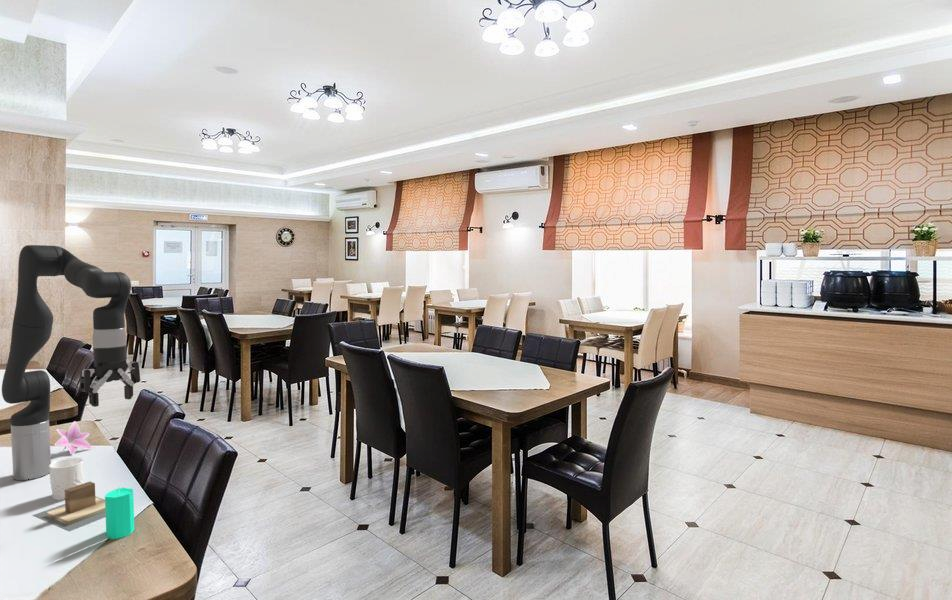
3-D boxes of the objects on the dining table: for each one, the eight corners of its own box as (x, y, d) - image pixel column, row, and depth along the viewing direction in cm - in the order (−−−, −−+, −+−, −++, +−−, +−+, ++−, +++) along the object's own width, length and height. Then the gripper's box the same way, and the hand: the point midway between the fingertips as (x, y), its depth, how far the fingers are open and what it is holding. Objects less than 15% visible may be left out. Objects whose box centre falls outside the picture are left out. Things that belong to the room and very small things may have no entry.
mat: (32, 517, 137) (32, 515, 137) (90, 496, 150) (90, 494, 150) (69, 533, 129) (69, 531, 129) (127, 509, 142) (127, 508, 142)
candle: (120, 540, 126) (118, 492, 126) (99, 537, 128) (98, 490, 127) (140, 528, 132) (139, 482, 132) (121, 525, 134) (119, 480, 133)
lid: (46, 515, 137) (45, 490, 137) (92, 499, 147) (91, 475, 147) (68, 525, 132) (67, 498, 132) (114, 507, 142) (113, 482, 142)
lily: (47, 463, 177) (60, 439, 176) (42, 442, 184) (54, 419, 184) (87, 463, 187) (99, 441, 186) (81, 443, 194) (93, 422, 193)
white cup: (63, 490, 154) (61, 457, 153) (91, 490, 154) (89, 457, 154) (43, 502, 146) (41, 468, 145) (72, 502, 146) (71, 467, 146)
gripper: (128, 340, 150) (130, 395, 151) (72, 347, 137) (75, 407, 138) (144, 342, 147) (146, 398, 148) (88, 349, 134) (91, 410, 135)
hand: (111, 402), depth 143 cm, fingers open, 8 cm apart
